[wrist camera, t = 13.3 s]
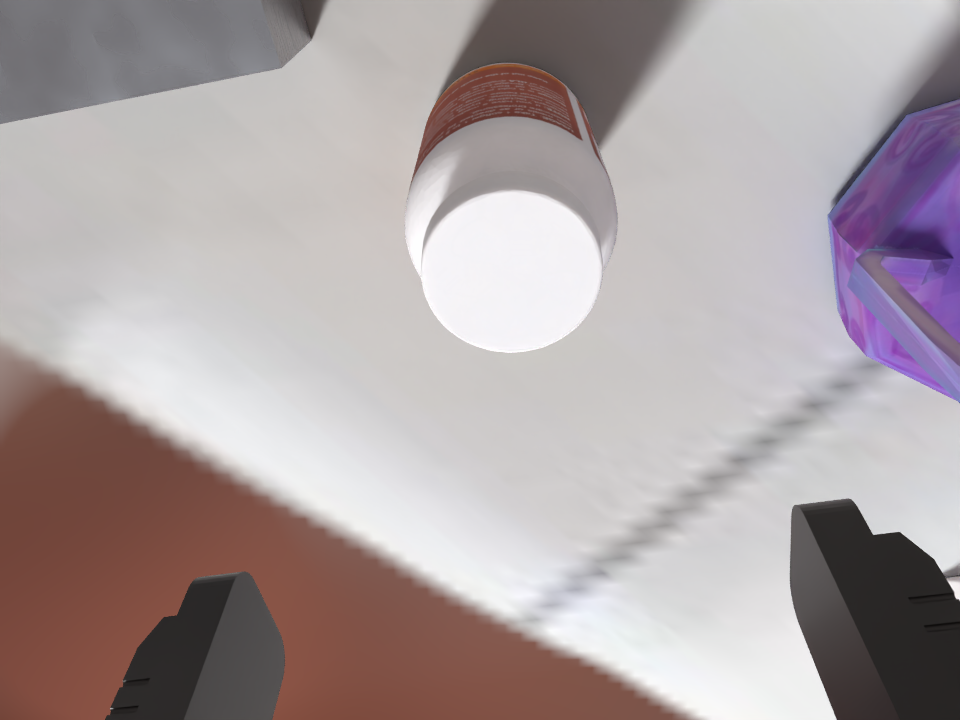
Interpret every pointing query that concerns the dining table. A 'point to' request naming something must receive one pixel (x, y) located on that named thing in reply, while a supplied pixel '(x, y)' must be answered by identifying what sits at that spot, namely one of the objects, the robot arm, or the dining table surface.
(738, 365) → the dining table surface
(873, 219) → the lantern
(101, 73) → the bore housing
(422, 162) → the pill bottle
